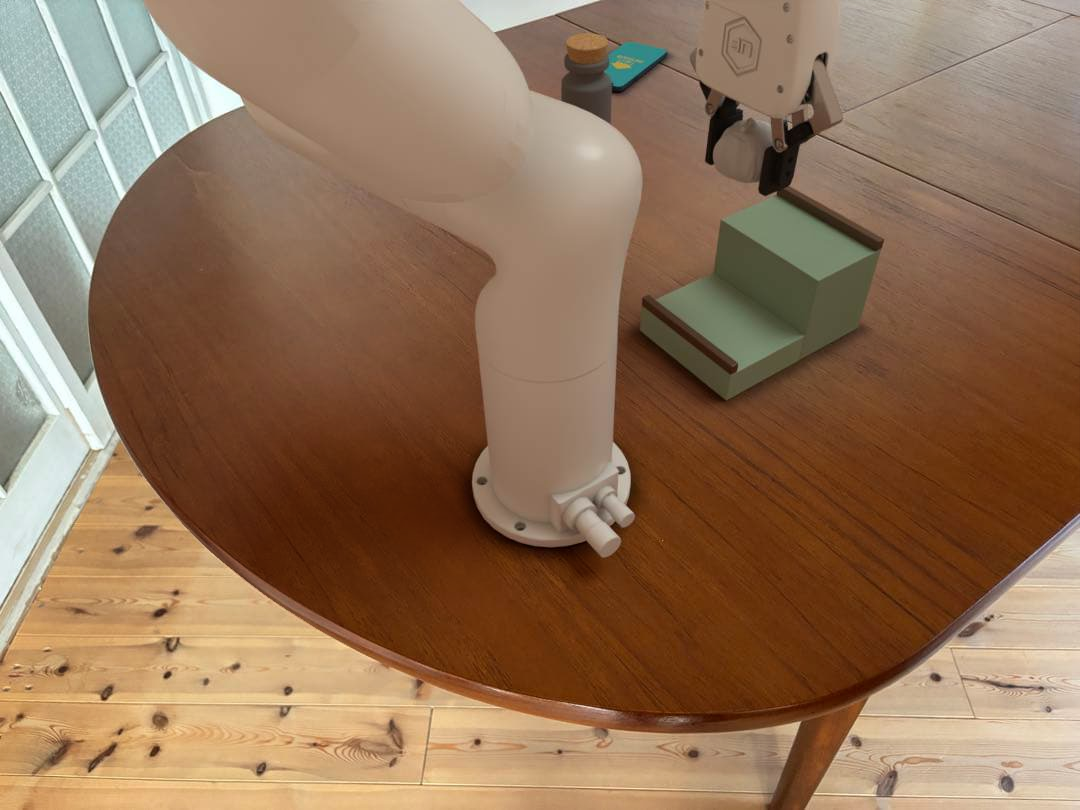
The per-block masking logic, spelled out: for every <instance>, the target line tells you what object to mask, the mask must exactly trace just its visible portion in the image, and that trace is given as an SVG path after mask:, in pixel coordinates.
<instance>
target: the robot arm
mask: <svg viewBox="0 0 1080 810" xmlns="http://www.w3.org/2000/svg"><path fill="white" fill-rule="evenodd" d="M142 2H143V4H144V6H145V8H146V10H147V12H148V13H149V15H150V17H151V18H152V20H153V21H154V23H155V24H156V26H157V28H159V30H160V31H161V33H162V34H163V35H164V36H165V37H166V38H167V39H168V40H169V41H170V43H171V44H172V45H173V46H174V47H175V48H176V50H177V51H178V52H179V53H181V54H182V56H184V57H185V58H186V59H187V60H188V61H189V62H191V64H193V65H194V66H195V67H197V68H198V69H199V70H200V71H202V72H203V73H205V74H206V75H207V76H209V77H210V78H212V79H213V80H215V81H216V82H217V83H219V84H221V85H223V86H224V87H226V88H227V89H228V90H230V91H232V92H234V93H236V94H237V95H239V98H240V99H241V101H242V104H243V105H244V107H245V109H246V111H247V112H248V114H249V115H250V117H251V118H252V120H253V121H254V123H256V124H257V126H258V127H259V128H260V129H261V130H262V131H263V132H264V134H266V135H267V136H269V137H270V138H271V139H272V140H274V141H275V142H277V143H278V144H280V145H281V146H282V147H285V148H286V149H288V150H290V151H291V152H294V153H295V154H297V155H299V156H301V157H303V158H305V159H306V160H308V161H310V162H312V163H314V164H316V165H318V166H319V167H321V168H323V169H325V170H327V171H329V172H331V173H333V174H334V175H336V176H338V177H339V178H342V179H344V180H346V181H347V182H349V183H352V184H353V185H355V186H357V187H359V188H361V189H363V190H364V191H366V192H368V193H371V194H372V195H374V196H376V197H378V198H380V199H383V200H384V201H386V202H388V203H390V204H392V205H394V206H396V207H397V208H400V209H401V210H403V211H406V212H408V213H409V214H411V215H414V216H416V217H418V218H419V219H422V220H423V221H425V222H427V223H429V224H431V225H433V226H435V227H438V228H440V229H442V230H444V231H446V232H447V233H450V234H452V235H454V236H456V237H458V238H459V239H461V240H463V241H465V242H466V243H468V244H470V245H472V246H475V247H476V248H478V249H480V250H482V252H484V253H486V254H487V255H488V256H489V257H490V258H491V259H492V261H493V262H494V266H495V275H493V276H492V277H491V278H490V279H489V280H488V281H487V283H486V284H485V285H484V286H483V288H482V290H481V291H480V293H479V295H478V298H477V301H476V305H475V311H474V328H475V338H476V339H475V340H476V345H477V354H478V365H479V374H480V384H481V393H482V403H483V412H484V413H483V414H484V421H485V431H486V441H487V445H486V447H485V448H484V449H483V450H482V451H481V452H480V455H479V456H478V458H477V460H476V462H475V464H474V468H473V470H472V476H471V478H472V479H471V486H472V495H473V499H474V502H475V505H476V509H477V510H478V512H479V513H480V515H481V516H482V518H483V520H484V521H486V523H487V524H489V526H491V528H493V529H494V530H495V531H497V532H498V533H499V534H501V535H503V536H504V537H506V538H508V539H510V540H514V541H515V542H518V543H520V544H525V545H529V546H533V547H540V548H541V547H543V548H558V547H559V548H560V547H568V546H572V545H577V544H580V543H581V544H582V543H584V542H587V544H589V545H590V546H591V548H592V549H593V550H594V551H595V552H596V553H597V554H598V555H599V557H601V558H603V559H604V558H608V557H610V556H612V555H613V554H615V553H616V552H617V551H618V549H619V548H620V547H621V543H622V539H621V537H620V536H619V535H618V534H617V533H616V531H614V530H613V529H612V527H611V526H612V525H613V524H615V522H616V524H617V525H619V526H620V528H623V529H624V528H627V527H629V526H630V525H631V524H632V523H633V522H634V520H635V518H636V515H635V513H634V512H633V510H631V509H630V507H628V505H627V504H628V501H629V499H630V494H631V493H630V492H631V484H632V483H631V482H632V481H631V478H632V477H631V469H630V467H629V463H628V460H627V459H626V457H625V454H624V453H623V451H622V450H621V449H620V448H619V446H618V445H617V444H616V443H615V442H614V426H615V403H616V402H615V401H616V382H617V360H618V359H617V358H618V331H619V330H618V329H619V311H620V301H621V300H620V299H621V289H622V281H623V274H624V269H625V265H626V258H627V255H628V251H629V246H630V244H631V243H630V242H631V239H632V236H633V232H634V228H635V225H636V221H637V218H638V214H639V210H640V205H641V201H642V194H643V186H644V185H643V170H642V169H643V168H642V166H641V161H640V158H639V156H638V154H637V152H636V150H635V148H634V147H633V145H632V143H631V142H630V141H629V140H628V139H627V138H626V136H625V135H624V134H623V133H622V132H620V131H619V130H618V129H617V128H616V127H615V126H613V125H612V124H611V125H610V124H609V123H608V122H606V121H605V120H603V119H601V118H599V117H597V116H596V115H594V114H592V113H590V112H588V111H586V110H583V109H581V108H579V107H576V106H574V105H571V104H568V103H565V102H562V101H561V99H560V100H559V99H557V98H554V97H551V96H548V95H545V94H542V93H540V92H537V91H534V90H531V89H530V88H529V85H528V83H527V80H526V78H525V75H524V73H523V71H522V69H521V68H520V64H519V63H518V62H517V60H516V59H515V57H514V55H513V54H512V52H511V51H510V49H508V48H507V47H506V45H505V44H504V42H502V40H501V39H500V38H499V36H498V35H497V34H496V33H495V32H494V31H493V29H491V28H490V27H489V26H488V25H487V24H486V23H485V22H484V21H482V20H481V19H480V18H479V16H476V15H475V14H474V13H473V12H472V11H471V10H470V9H469V8H468V7H467V6H466V5H464V4H463V3H462V2H461V1H460V0H142ZM842 11H843V0H704V5H703V10H702V14H701V20H700V28H699V33H698V40H697V46H695V47H696V48H695V49H693V51H691V53H690V54H689V62H690V65H691V66H692V69H693V70H694V72H695V74H696V76H697V78H698V79H699V81H698V82H699V87H700V89H701V92H702V94H703V96H704V98H705V99H704V100H705V104H704V112H705V114H706V115H707V116H708V117H710V118H709V124H708V130H707V141H706V149H705V157H704V162H705V164H707V165H709V166H713V165H714V161H713V151H714V148H715V145H716V143H717V142H718V141H719V140H720V138H721V136H722V134H723V133H724V131H725V130H726V129H727V128H729V127H731V126H732V125H733V124H734V123H736V122H737V121H741V120H744V110H743V109H742V108H738V107H739V106H740V104H741V105H743V106H745V107H747V108H749V109H751V110H753V111H755V112H757V113H760V114H761V115H764V116H766V117H769V120H770V124H771V131H772V144H773V146H770V147H768V148H766V150H765V152H764V158H763V164H762V170H761V175H760V181H759V182H758V188H757V190H758V193H759V195H762V197H763V196H764V197H768V196H770V195H771V194H774V193H777V191H779V190H781V189H784V188H786V187H788V186H791V184H792V182H793V180H794V176H795V171H796V168H797V167H796V166H797V162H798V157H799V151H800V147H801V145H802V144H805V143H807V142H808V141H809V140H811V139H813V138H815V136H817V135H819V134H821V133H823V132H825V131H827V130H829V129H831V128H834V127H835V126H837V125H839V124H841V123H842V122H843V120H844V115H843V112H842V109H841V106H840V104H839V102H838V99H837V95H836V93H835V90H834V87H833V85H832V81H831V80H832V77H833V73H834V67H835V63H836V57H837V56H836V55H837V50H838V44H839V36H840V31H841V20H842ZM809 105H811V107H812V111H813V114H812V116H811V117H809ZM788 116H791V128H790V129H789V122H788ZM714 166H715V165H714Z"/></svg>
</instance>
